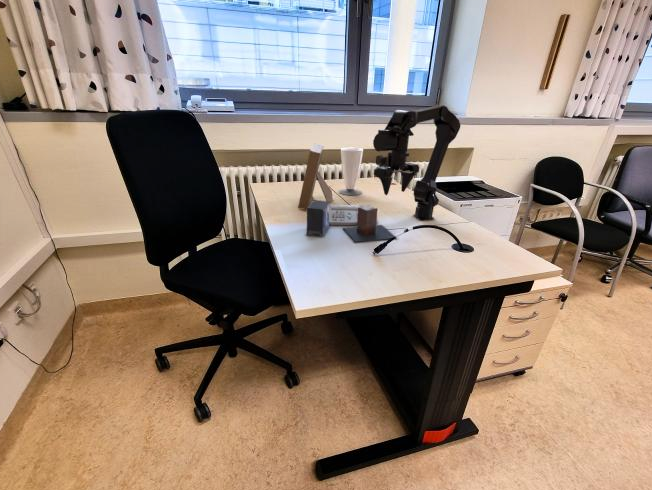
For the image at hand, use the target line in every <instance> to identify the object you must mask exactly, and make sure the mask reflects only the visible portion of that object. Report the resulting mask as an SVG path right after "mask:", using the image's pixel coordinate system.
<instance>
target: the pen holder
mask: <svg viewBox="0 0 652 490" xmlns="http://www.w3.org/2000/svg"><path fill="white" fill-rule="evenodd" d="M361 206H362V207H358V220H357V224H356V227H357V232H358V233H360V234H363V235H365V236H367V235H371V234H374V233H375V232H376V221H377V219H378V207H375V206H372V205H369V204H367V205H361ZM377 222H378V221H377Z"/></svg>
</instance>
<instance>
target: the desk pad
mask: <svg viewBox="0 0 652 490" xmlns="http://www.w3.org/2000/svg"><path fill="white" fill-rule="evenodd" d="M342 230H343V231H344V232H345V233H346V235H348V236H349V238H350V239H351V240H352V241H353V242H354V243H355V244H356V243H367V242H376V241H387V240H388V241H389V240H392V239H391V238H392V237H396V236H395V235H394V234H393V233H392V232H390V231H389V230H388V229H387V228H385V226H383V225H382V224H377V225H376V232H375V233H374V234H371V235H367V236H365V235H363V234H360V233H358V232H357V226H352V227H343V229H342ZM396 239H397V237H396V238H394V239H393V240H396Z"/></svg>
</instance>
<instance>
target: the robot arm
mask: <svg viewBox="0 0 652 490" xmlns="http://www.w3.org/2000/svg"><path fill="white" fill-rule="evenodd" d="M431 120H433V124H434V126H435V132H434V134H435V139H436V142H435V144H434V147H433V150H432V153H431V155H430V158H429V161H428V164H427V166H426V170H425V172H424V174H423V177H422V178H421V179H419V180H416V181H415V186H414V188H413V194H412V195H413V198H414V202H415V203H417V204H416V207H415V212H414V214H413V217H415V218H416V219H418V220H419V221H429V220H435V218H434V217H433V213H434V209H435V207H436V206H438V204H439V202H440V199H439V198H438V196H437V194H436V193H437V189H438V187H437V181H436V180H437V179H438V175H439V172H440V169H441V167H442V165H443V162H444V159H445V156H446V153H447V151H448V147H449V146H450V144H451V143H452V142H453V141H454V140H455V139H456V138H457V136H458V133H459V131H460V129H461V121H460V119H458V117H457V116H456V115H455V114H454V113H453V112H452V111H450V109H449V108H448V107H447V106H446V105H441V104H440V105H439V104H435V105H433V106H429V107H424V108H420V109H415V110H401V109H397V110H394V111H393V113H392V115H391V117H390V119H389V121H388V123H387V124H386V126H385V128H384V129H378V130H377V133H376V134H375V136H374V139H373V140H372V145H373V148H374V150H375V151H376V152H388V153H387V156H383V155H380V154H379V155H376V156H375V165H376V166H375V167H374V169H373V176H376V178H378V179H379V180H380V181H381V185H382V189H383V190H382V191H383V194H384V195H385V196H388V194H389V192H390V189H391V185H392V182H393V177H392V176H393V174H396V173H397V174H398V173H399V174H400V175H401V192H402V193H405V191H406V190H407V188H408V186H409V185H410V183H411V182H412V180H413V179H414V177H415V176H416V175H417V173H420V165H419V164H417V163H413V162H407V157H410V152H408V149H409V140H410V137H413V136H414V135H415V134H414V132H413V131H412V130H411V129H413V128H415V127H416V126H417V125H418V124H419V123H423V122H427V121H431Z"/></svg>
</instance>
